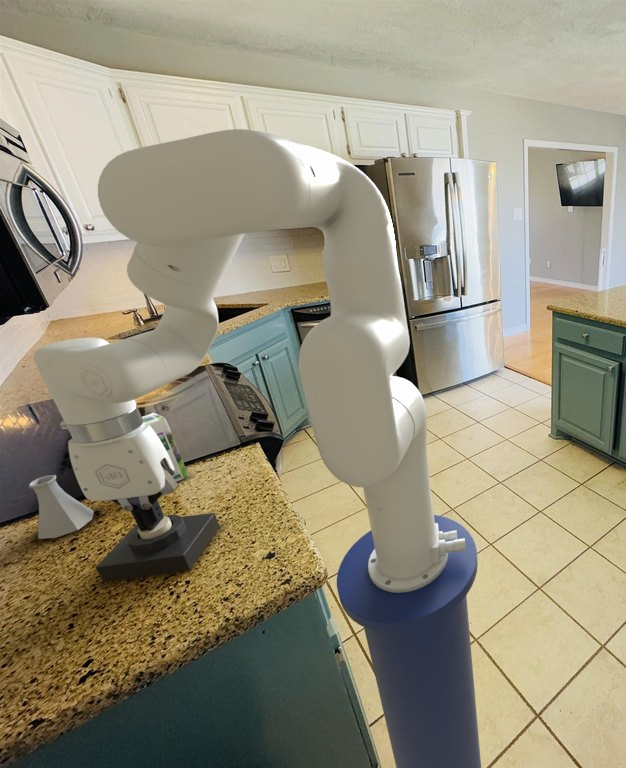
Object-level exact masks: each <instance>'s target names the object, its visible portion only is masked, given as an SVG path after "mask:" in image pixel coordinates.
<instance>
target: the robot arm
mask: <svg viewBox="0 0 626 768" xmlns="http://www.w3.org/2000/svg"><path fill="white" fill-rule="evenodd" d="M97 198H98V203H99V206H100V208H101V210H102V213H103V215H104V216H105V218H106V219H107V221H108V222H109V223H110V225H111V226H112V227H113V228H114V229H115V231H117V232H119V233H120V234H121V235H122V236H125V237H126V238H127V239H129V240H131V241H133V242H136V244H135V246H134V249H133V251H132V254H131V256H130V258H129V261H128V263H127V266H126V273H127V277H128V279H129V280H130V282H131V284H132V285H133V286H134V287H135V288H137V289H138V291H140V292H141V293H143V294H144V295H146V296H148V298H151V299H153V300H155V301H156V302H158V303H159V302H160V303H162V304H164V305H166V306H165V309H164V311H163V313H162V316H161V318H160V320H159V322H158V324H157V325H156V327H155V328H154V329H153V330H149V331H145V332H142V333H138V334H136V335H132V336H130V337H126V338H123V339H119V340H117V341H114V342H108V341H107V340H105V339H103V338H99V337H79V338H71V339H65V340H60V341H55V342H51V343H48V344H45V345H43V346H41V347H39V348H38V349H36V351H35V352H34V354H33V360H34V363H35V365H36V368H37V370H38V372H39V374H40V376H41V378H42V380H43V382H44V383H45V386H46V387H47V390H48V392H49V394H50V396H51V398H52V401H53V402H54V403H55V406H56V408H57V410H58V412H59V414H60V416H61V417H62V419H63V420H62V421H60V424H59V427H60V428H61V429H62V430H63V431H65V430H68V432H69V434H70V436H71V439H70V440H68V442H67V444H68V445H67V447H68V453H69V460H70V463H71V467H72V470H73V473H74V476H75V478H76V480H77V484H78V485H79V487H80V490H81V492H82V493H83V495H84V496H85V498H86V499H87V500H89V501H92V502H112V503H115V504H117V505H119V506H121V508H123V510H124V511H125V512H130V513H131V514H132V517H133V519H134V521H135V523H136V524H137V525H138V527H139V529H140V531H146V530H153V529H154V528H155V527H156V526H157V525H158V524H159V523H160V521H161V520H162V519H163V518H164V516H165V514H164V512H163V509H162V507H161V505H160V503H159V501H158V500H159V499H160V498H161V497H162V496H167V495H169V494H172V493H174V492H175V491H176V490H177V489H178V488H179V486H180V485H179V483H178V481H177V482H176V481H175V480H174V478H173V477H174V476H175V470H174V467H173V464H172V462H171V459H170V457H169V455H168V453H167V451H166V449H165V447H164V446H163V444H162V442H161V441H160V439H159V437H158V436H157V434H156V433H155V432H154V430H153V429H152V428H151V427H150V425H149V424H144V421H143V419H142V417H143V416H142V414H141V412H140V409H139V406H138V405H137V402H136V400H137V399H139V398H142V397H144V396H146V395H149V394H150V393H152V392H154V391H157V390H159V389H160V388H162V387H164V386H166V385H169V384H172V383H173V382H175V381H177V380H179V379H182V378H183V377H186V376H188V375H190V374H191V373H192V372H194V371H195V370H196V369H198V367H199V366H200V365H201V364H202V363H203V362H204V360H205V358H206V357H207V355H208V353H209V351H210V349H211V347H212V345H213V343H214V341H215V340H216V337H217V335H218V332H219V327H220V325H219V323H220V321H219V311H218V307H217V305H216V302H215V300H214V297H215V296H216V293H217V290H218V288H219V287H220V284H221V283H222V281H223V278H224V276H225V275H226V273H227V270H228V269H229V267H230V265H231V263H232V261H233V258H234V256H235V255H236V253H237V250H238V249H239V246H240V245H241V242H242V240H243V238H244V236H245V234H250V233H257V232H266V231H275V230H277V231H278V230H290V229H304V228H315V229H318V230H319V231H321V232H322V234H323V239H324V244H323V256H322V263H323V264H322V265H323V273H324V279H325V282H326V287H327V291H328V297H329V303H330V305H329V306H330V316H328V317H326V318H324V319H322V320H321V321H319V322H317V323H316V324H315V326H313V327H311V329H310V330H309V331H308V333H307V334H306V336H305V337H304V339H303V341H302V343H301V345H300V349H299V355H298V373H299V374H298V375H299V379H300V384H301V388H302V392H303V396H304V400H305V404H306V408H307V412H308V416H309V419H310V423H311V428H312V431H313V435H314V439H315V440H314V441H315V444H316V447H317V451H318V454H319V456H320V458H321V460H322V462H323V464H324V465H325V467H326V469H327V470H328V471H329V473H331V475H333V476H334V478H336V479H337V480H338V481H340V482H342V483H344V484H345V485H348V486H350V487H354V488H363V494H364V500H365V505H366V510H367V514H368V515H367V516H368V520H369V526H370V531H372V536H373V541H374V546H375V549H374V550H373V552H372V554H371V555H370V558H369V561H368V570H369V575H370V578H371V580H372V581H373V583H374V584H375V585H376V586H377V587H379V588H381V589H382V590H385V591H388V592H394V593H403V592H410V591H414V590H417V589H419V588H422V587H424V586H426V585H427V584H429V583H431V582H432V581H433V580H434V579H436V578H437V577H438V576H439V575H440V573H441V572H442V571H443V569H444V567H445V565H446V563H447V559H448V553H450V552H462V551H466V546H465V538H463V539H457V530H456V531H449V532H445V533H443V532H442V531H439V528H438V523H435V521H434V515H435V513H434V505H433V497H432V495H433V494H432V488H431V480H430V478H431V477H430V476H431V475H430V468H429V458H428V457H429V456H428V419H427V418H428V417H427V415H428V414H427V407H426V404H425V400H424V398H423V395H422V394H421V392H420V390H419V389H418V388H417V387H416V386H415V385H414V384H413V382H411V381H410V380H408V379H406V378H404V377H400V376H396V375H394V374H395V373H396V372H397V370H398V369H399V368H400V367H401V366H402V364H403V363H404V362H405V360H406V358H407V356H408V355H409V350H410V344H411V341H410V334H409V328H408V320H407V314H406V307H405V301H404V293H403V287H402V286H403V285H402V281H401V275H400V268H399V261H398V255H397V248H396V247H397V245H396V240H395V239H396V238H395V233H394V227H393V222H392V218H391V215H390V214H391V213H390V211H389V208H388V205H387V203H386V200H385V198H384V197H383V195H382V193H381V191H380V190H379V189H378V187H377V186H376V184H375V183H374V182H373V181H372V180H371V179H370V178H369V176H367V174H365V172H364V171H362V170H361V169H359V168H358V167H356V166H355V165H354V164H352V163H350V162H349V161H347V160H345V159H343V158H341V157H339V156H338V155H335V154H333V153H331V152H328V151H326V150H323V149H320V148H317V147H315V146H312V145H308V144H306V143H302V142H299V141H295V140H290V139H287V138H284V137H281V136H277V135H274V134H270V133H267V132H263V131H260V130H259V131H258V130H252V129H246V128H245V129H244V128H236V129H235V128H233V129H224V130H217V131H213V132H208V133H203V134H198V135H195V136H189V137H186V138H181V139H175V140H171V141H166V142H161V143H156V144H151V145H147V146H142V147H137V148H134V149H130V150H127V151H124V152H122V153H120V154H118V155H116V156H115V157H114V158H112V159H111V160H109V161H108V163H107V164H106V165H105V166H104V167H103V169H102V171H101V174H100V175H99V179H98V183H97ZM453 539H457V540H454V541H448V542H445V540H453Z"/></svg>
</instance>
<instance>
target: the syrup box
mask: <svg viewBox="0 0 626 768" xmlns="http://www.w3.org/2000/svg"><path fill="white" fill-rule="evenodd" d="M142 419H143V421H144V424H149V425H150V427H151V428H152V429H153V430H154V432H155V433H156V434H157V436H158V437H159V439H160V441H161V442H162V444H163V446H164V447H165V449H166V451H167V453H168V455H169V457H170V459H171V462H172V464H173V467H174V470H175V476H174V477H173V478H174V480H175V481H176V482H177V483H178V482H180V481H182V480H185V479H187V478H188V477H189V472H188V471H187V468H186V465H185V464H184V463H185V462H184V461H183V458H182V456H181V453H180V451H179V448H178V446H177V443H176V441H175V439H174V436H173V434H172V431H171V429H170V426H169V424H168V422H167V419H166V418H165V417H164V416H162V415H160V414H158V413H155V412H151V413H149V414H146V415H143V416H142Z"/></svg>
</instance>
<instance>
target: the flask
mask: <svg viewBox="0 0 626 768" xmlns="http://www.w3.org/2000/svg"><path fill="white" fill-rule="evenodd" d="M28 488H30V489H32V490H33V491H34V493H35V494H36V498H37V501H38V529H37V539H38V540H42V539H56V538H60V537H62V536H64V535H68V534H71V533H74V532H77V531H79V530H80V529H82V528H83V527H85V525H87V524H88V523H90V522H91V521H92V520H93V519H94V518H93V517H94V510H92V509H91V508H90V507H88V506H86V505H85V504H83V503H82V502H80V501H78V500H77V499H76V498H74V497H72V496H71V495H70V494H68V493H67V492H65V490H63V488H61V486H59V484H58V482H57V475H56V474H51V475H49V474H48V475H45V476H41V477H38V478H36V479H34V480H32V481H31V482H29V484H28Z"/></svg>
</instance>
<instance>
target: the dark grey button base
mask: <svg viewBox="0 0 626 768" xmlns="http://www.w3.org/2000/svg"><path fill="white" fill-rule="evenodd" d="M164 516H166V517H168V518H169V519H170V521H171V523H172V527H171V528H170V530H168V531H167V532H165V533H163V534H162V535H160V536H157V537H154V538H152V539H146V540H142V539H141V537H140V535H139V533H138V528H139V527H138V525H137V523H136V524H135V525H134V526H133V527H132V528H131V529H130V531H128V533H127V534H126V535H125V536H124V537H123V538H121V540H120V541H119V542H118V543H117V544H116V545H115V546H114V547H113V548H112V549H111V550H110V551H109V552H108V554H106V555H105V556H104V558H103V559H102V560H101V561H100V562H99V563H98V564H97V565H96V566H95V570H96V571H97V573H98V575H99V577H100V579H101V581H102V582H103V583H111V582H118V581H125V580H132V579H139V578H146V577H152V576H153V577H154V576H161V575H166V574H167V575H168V574H174V573H175V574H176V573H180V572H188V571H191V570H192V568H193V566H194V565H195V564H196V563H197V561H198V560H199V558H200V557H201V555H202V554H203V552H204V551H205V549H206V547H207V546H208V545H209V543H211V540H212V539H213V537H214V536H215V534H216V533H217V531H218V530H219V529H220V524H219V521H218V518H217V516H216V513H215V512H209V513H201V514H193V515H184V516H181V515H178V514H175V513H173V514H164Z"/></svg>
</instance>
